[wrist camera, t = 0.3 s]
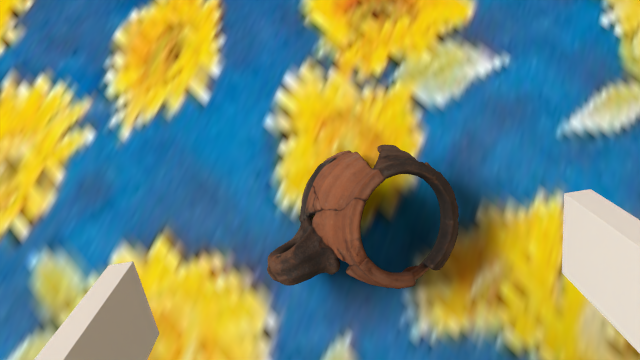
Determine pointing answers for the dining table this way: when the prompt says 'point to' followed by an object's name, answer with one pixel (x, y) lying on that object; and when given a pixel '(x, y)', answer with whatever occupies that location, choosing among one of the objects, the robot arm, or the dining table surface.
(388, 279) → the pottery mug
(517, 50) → the dining table surface
